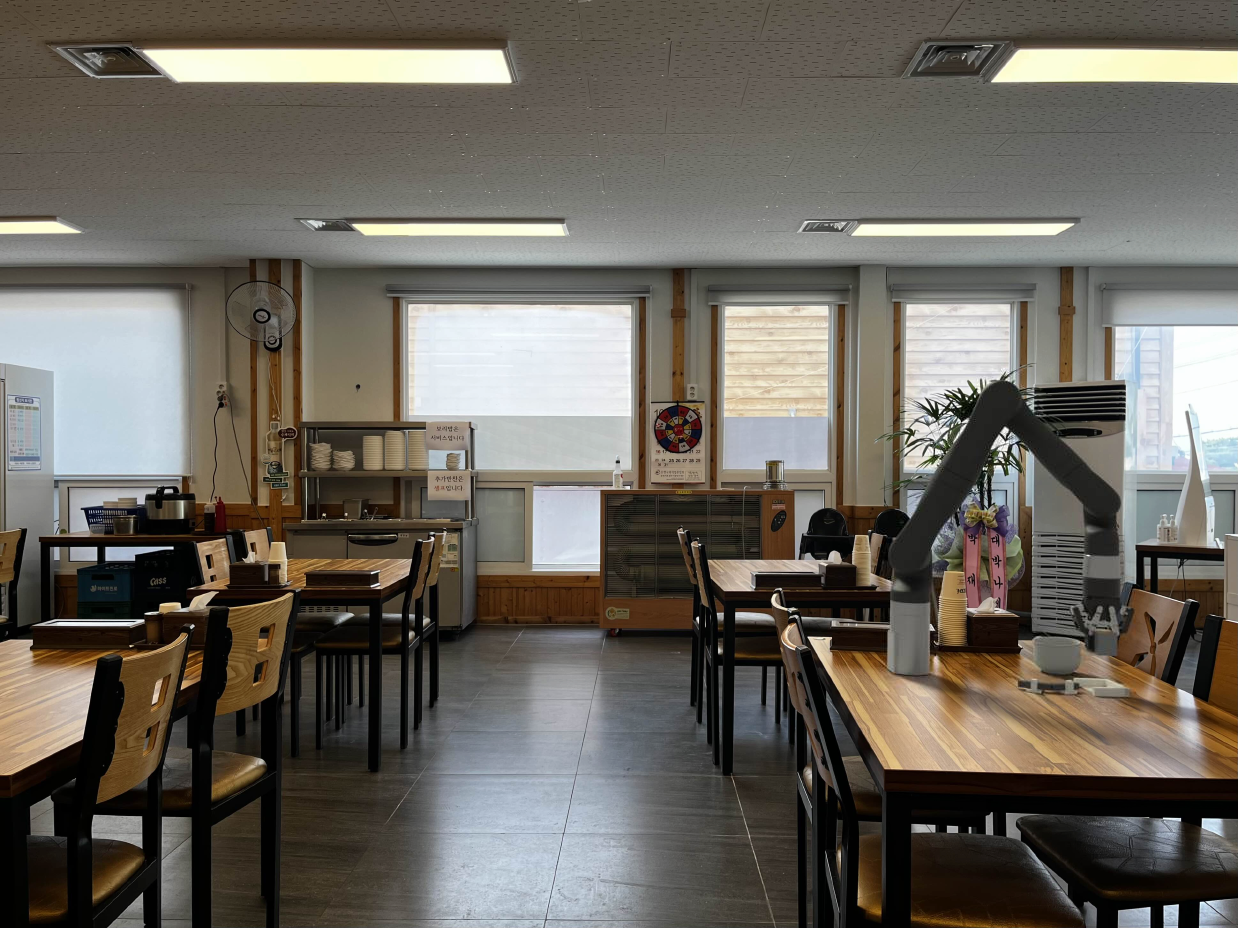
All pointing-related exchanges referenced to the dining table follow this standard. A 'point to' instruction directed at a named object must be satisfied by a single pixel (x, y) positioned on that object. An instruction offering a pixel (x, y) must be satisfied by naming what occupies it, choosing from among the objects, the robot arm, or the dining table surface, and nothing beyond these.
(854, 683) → the dining table surface
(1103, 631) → the connector
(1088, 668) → the dining table surface
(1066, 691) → the clips
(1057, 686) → the cable run
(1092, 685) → the end holder
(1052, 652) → the teacup
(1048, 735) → the dining table surface
